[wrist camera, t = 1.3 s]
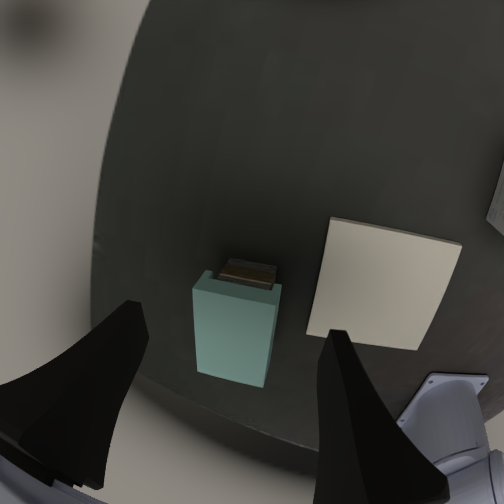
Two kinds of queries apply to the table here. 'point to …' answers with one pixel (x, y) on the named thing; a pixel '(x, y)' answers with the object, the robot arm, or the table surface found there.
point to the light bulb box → (497, 205)
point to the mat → (380, 283)
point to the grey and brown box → (248, 274)
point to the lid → (234, 329)
